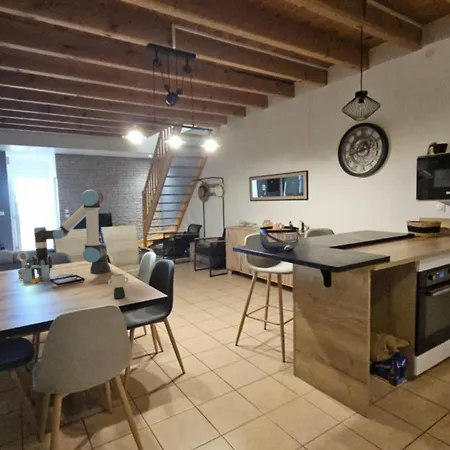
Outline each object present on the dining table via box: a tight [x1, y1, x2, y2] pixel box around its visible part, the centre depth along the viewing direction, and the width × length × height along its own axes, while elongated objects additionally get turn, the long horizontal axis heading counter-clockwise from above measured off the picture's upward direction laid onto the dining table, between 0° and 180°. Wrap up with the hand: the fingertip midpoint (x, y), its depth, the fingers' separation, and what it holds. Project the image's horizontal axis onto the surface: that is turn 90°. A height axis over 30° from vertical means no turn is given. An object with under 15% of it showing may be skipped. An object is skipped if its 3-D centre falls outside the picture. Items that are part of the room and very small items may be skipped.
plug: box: [31, 268, 42, 284], centre depth 237 cm, size 17×5×9 cm, turn 3°
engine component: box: [16, 250, 30, 279], centre depth 251 cm, size 11×20×10 cm
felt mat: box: [53, 273, 73, 278], centre depth 246 cm, size 10×15×1 cm, turn 2°
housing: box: [21, 263, 51, 283], centre depth 235 cm, size 17×4×13 cm, turn 92°
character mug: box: [107, 273, 129, 299], centre depth 182 cm, size 11×7×13 cm, turn 121°
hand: (44, 278), depth 243 cm, fingers closed on plug, 5 cm apart
